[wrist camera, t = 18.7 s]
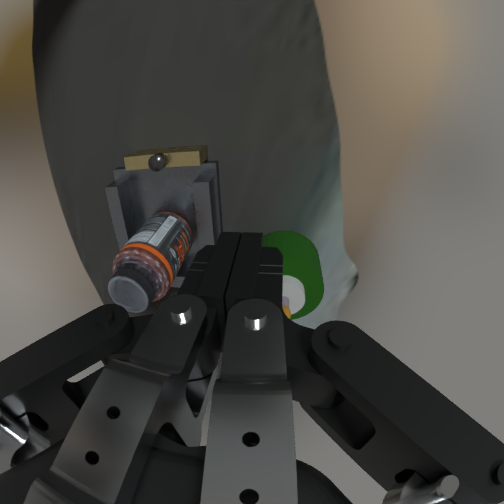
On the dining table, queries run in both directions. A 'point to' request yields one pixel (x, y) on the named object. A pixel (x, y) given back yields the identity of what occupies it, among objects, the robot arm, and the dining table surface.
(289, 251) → the candle
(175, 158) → the bar
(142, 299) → the supplement bottle
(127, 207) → the dock
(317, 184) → the dining table surface
